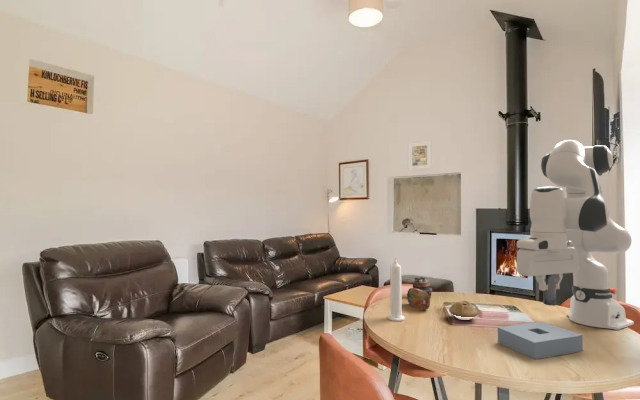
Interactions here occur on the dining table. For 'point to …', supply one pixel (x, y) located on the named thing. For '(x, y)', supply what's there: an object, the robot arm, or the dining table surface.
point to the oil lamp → (463, 309)
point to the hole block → (540, 339)
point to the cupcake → (422, 285)
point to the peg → (550, 291)
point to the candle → (396, 292)
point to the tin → (418, 299)
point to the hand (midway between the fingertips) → (549, 289)
